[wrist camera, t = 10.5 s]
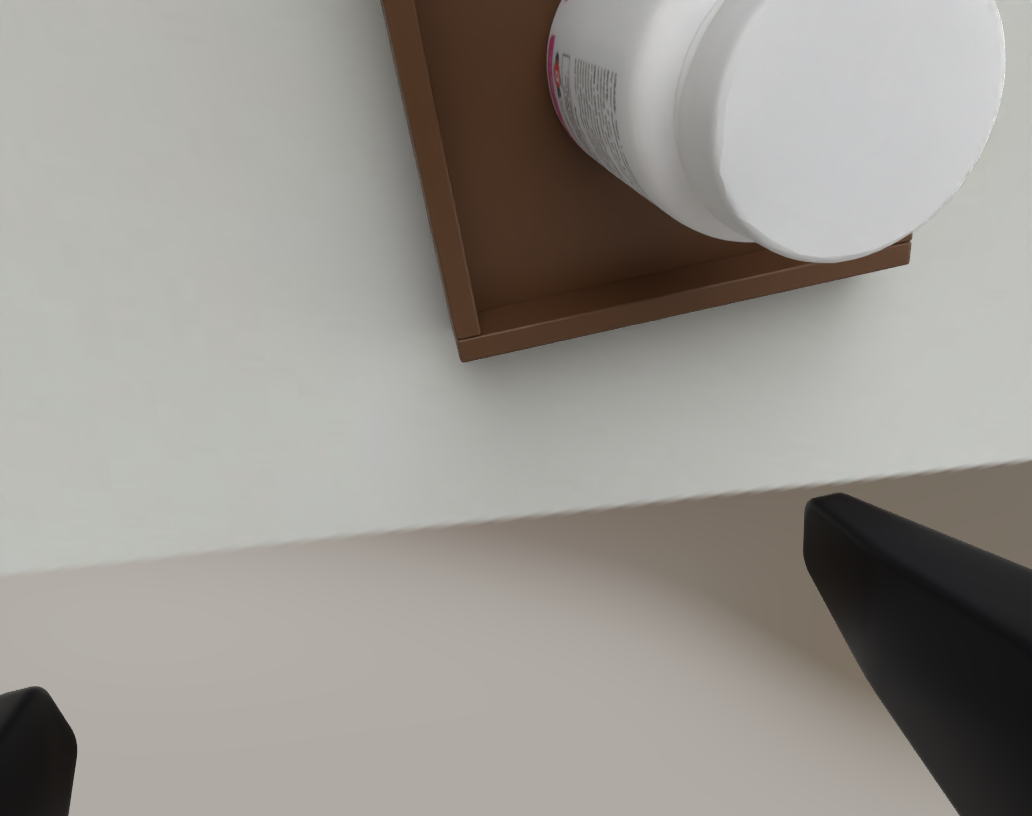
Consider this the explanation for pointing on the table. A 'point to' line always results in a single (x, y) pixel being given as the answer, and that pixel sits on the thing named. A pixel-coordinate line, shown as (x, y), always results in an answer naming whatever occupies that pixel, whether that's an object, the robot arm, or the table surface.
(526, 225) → the tray
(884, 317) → the table surface
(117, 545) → the table surface
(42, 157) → the table surface
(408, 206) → the table surface
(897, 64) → the pill bottle
